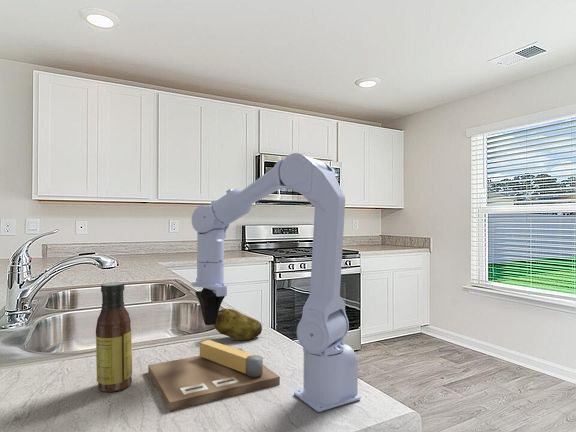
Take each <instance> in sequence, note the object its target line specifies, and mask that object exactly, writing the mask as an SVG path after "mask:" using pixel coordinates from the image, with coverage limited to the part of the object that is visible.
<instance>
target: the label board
mask: <svg viewBox="0 0 576 432" xmlns="http://www.w3.org/2000/svg"><path fill="white" fill-rule="evenodd" d="M237 349H238V350H241V351H244V352H246V351H245V350H244V349H243V348H237ZM147 367H148V374H149V376H150V378H151V379H152V381H153V383H154V385H155V387H156V390H158V393H159V394H160V396H161V398H162V400H163V402H164V403H165V406H166V407H167V409H168V410H169V412H173V411H177V410H181V409H185V408H189V407H194V406H197V405H202V404H205V403H209V402H210V403H211V402H214V401H218V400H221V399H227V398H229V397H230V398H231V397H233V396H238V395H243V394H246V393H251V392H255V391H258V390H264V389H266V388H272V387H275V386H279V385H280V382H281V381H280V380H281V378H280V376H279V375H278V374H277V373H275V372H274V371H273V370H271V369H270V368H268V367H267V366H266V365H264V364H263V374H262V375H260V376H257V377H251V376H248V375H247V374H245V373H243V372H240V371H237V370H235V369H232V368H229V367H227V366H224V365H222V364H219V363H216V362H214V361H211V360H209V359H206V358H203V357H201V356H200V355H196V356H190V357H186V358H179V359H174V360H169V361H164V362H157V363H153V364H148V366H147Z"/></svg>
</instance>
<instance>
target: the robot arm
mask: <svg viewBox="0 0 576 432" xmlns="http://www.w3.org/2000/svg"><path fill="white" fill-rule="evenodd" d="M281 189H290V190H292V191H294V192H296V193H298V194H300V195H301V196H303V197H304V198H305V199H306V200H307V201H308V202H309V203H310V204H311V205H312V207H314V213H313V214H314V217H313V230H312V231H313V234H312V235H313V237H312V252H311V271H310V273H311V274H310V284H309V285H310V288H309V296H308V298H307V300H306V301H305V304H304V305H303V308H302V313H301V314H302V315H301V318H300V320H299V322H298V324H297V327H296V337H297V341H298V342H299V344H300V345H301V347H302V349H303V350H302V351H303V388H300V389H298V390H297V389H296V390H294V392H293V394H294V396H296V397H298V398H299V399H300V400H301V401H303V402H304V403H306V405H308V406H309V407H311V408H312V409H313V410H314V411H315V412H318V413H319V412H320V413H321V412H323V411H327V410H330V409H334V408H336V407H337V408H338V407H340V406H342V405H346V404H347V405H348V404H350V403H353V402H356V401H360V400H361V398H362V397H361V396H360V395H359V393H358V390H359V389H358V385H359V384H358V381H359V380H358V379H359V378H358V376H359V375H358V374H359V372H358V370H359V368H358V367H359V364H358V358H357V355H356V352H355V351H354V348H352V347H351V346H350V345H349V344H345V343H344V338H345V337H346V336H347V335H348V332H349V329H350V325H349V324H350V323H349V319H348V316H347V313H346V302H345V301H344V299H343V298H342V297H341V282H342V281H341V280H342V263H343V246H344V228H345V227H344V225H345V211H346V210H345V209H346V197H345V194H344V192H343V189H342V187H341V185H340V184H339V182H338V179H337V177H336V170H335V169H334V168H333V167H331V166H330V165H329V164H328V163H327V162H325V161H324V160H320V159H315V158H313V157H310V156H306V155H304V154H302V153H298V152H295V153H291V154H289V155H287V156H285V158H284V159H280V160H278V161H276V163H275V164H274V166H273V167H272V168H271V169H269V170H268V171H267V172H265V173H264V174H263V175H261V176H260V177H259V178H257V179H256V180H255V181H253V182H252V183H251V184H249V185H247V186H246V187H245V188H243V189H240V188H228V189H227V190H226V191H225V192H226V193H225V194H224V195H223V196H221V197H220V198H218V199H217V200H215V199H213V200H212V201H211V202H210V203H211V204H209V205H202V204H201V205H198V206H197V207H196V208H195V209H194V210H193V212H192V215H191V225H192V228H193V229H194V230H195V231H196V232H197V234H196V235H197V236H196V237H197V238H196V239H197V240H196V241H197V243H196V246H197V247H196V248H197V249H196V251H197V252H196V255H197V256H196V277H195V278H196V279H195V281H194V282H191V283H190V284H191V287H194V288H195V287H198V288H202V289H201V290H198V291H195V293H194V294H195V296H196V298H197V300H198V302H199V305H200V309H201V313H202V318H203V322H204V324H205V326H211V325H213V326H214V324H216V320H217V316H218V312H219V310H220V308H221V306H222V303H223V301H224V299H225V297H227V296H228V290H227V289H228V286H226V282H225V278H224V276H225V275H224V273H225V272H224V271H225V270H224V269H225V268H224V267H225V260H224V259H225V258H224V257H225V239H226V236H227V235H226V233H227V230H228V228H229V227H230V225H231V224H232V223H234V222H236V221H237V220H239V219H240V218H242V217H244V216H245V215H247V214H249V213H250V211H251V209H252V205H253V204H254V203H257V202H258V201H260V200H262V199H264V198H266V197H268V196H270V195H271V194H274V193H275V192H277V191H279V190H281Z"/></svg>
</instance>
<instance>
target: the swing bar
mask: <svg viewBox="0 0 576 432" xmlns="http://www.w3.org/2000/svg"><path fill="white" fill-rule="evenodd" d="M238 349H239V348H235V347H231V346H230V345H226V344H223V343H220V342H217V341H214V340H211V339H206V340H204V341H200V342H199V356H201V357H203V358H206V359H209V360H211V361H214V362H216V363H219V364H222V365H224V366H227V367H229V368H232V369H235V370H237V371H240V372H243V373H245V374H247V375H248V376H251V377H257V376H260V375H262V374H263V365H264V364H263V363H264V362H263V359H264V357H263V356H262V355H259V354H257V355H256V354H253V353H251V352H250V353H249V352H248V351H247V352H246V351H245V350H244V351H245V352H244V351H241V350H238Z"/></svg>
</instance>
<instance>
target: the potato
mask: <svg viewBox="0 0 576 432" xmlns="http://www.w3.org/2000/svg"><path fill="white" fill-rule="evenodd" d="M213 326H214V328H215V330H216V331H217V333H219V334H220V335H222V336H225V337H226V336H227V337H229V338H231V339H233V340H237V341H246V340H252V339H255V338H256V337H259V336H260V335H261V334H262V331H263V325H262V323H261V322H260V321H259V320H257V319H255V318H253V317H250V316H247V315H246V314H244V313H241V312H239V311H238V310H236V309H232V308H222V309H219V312H218V316H217V320H216V324H213Z"/></svg>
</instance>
